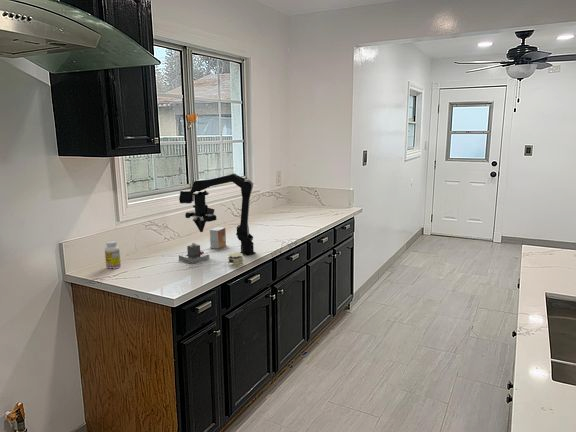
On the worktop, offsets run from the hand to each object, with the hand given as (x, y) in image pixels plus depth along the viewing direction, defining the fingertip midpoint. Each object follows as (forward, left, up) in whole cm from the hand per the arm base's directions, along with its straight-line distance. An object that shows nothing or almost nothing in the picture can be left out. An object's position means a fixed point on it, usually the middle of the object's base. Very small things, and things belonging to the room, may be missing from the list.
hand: (201, 232), depth 235 cm
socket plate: (-5, +10, -12) cm, 16 cm away
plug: (-5, +10, -12) cm, 16 cm away
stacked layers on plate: (-28, +3, -13) cm, 31 cm away
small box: (+3, -15, -12) cm, 19 cm away
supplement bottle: (+16, +42, -12) cm, 47 cm away
